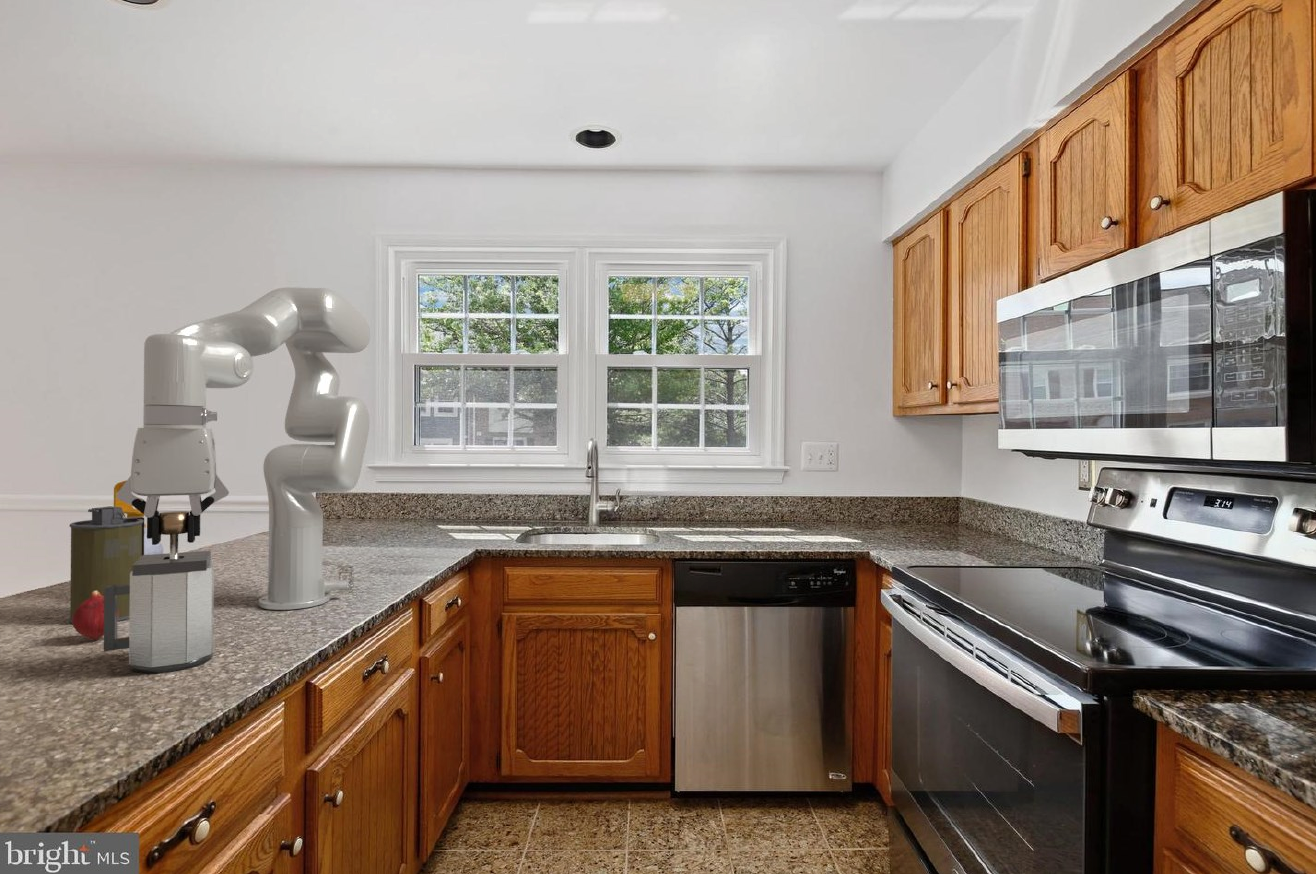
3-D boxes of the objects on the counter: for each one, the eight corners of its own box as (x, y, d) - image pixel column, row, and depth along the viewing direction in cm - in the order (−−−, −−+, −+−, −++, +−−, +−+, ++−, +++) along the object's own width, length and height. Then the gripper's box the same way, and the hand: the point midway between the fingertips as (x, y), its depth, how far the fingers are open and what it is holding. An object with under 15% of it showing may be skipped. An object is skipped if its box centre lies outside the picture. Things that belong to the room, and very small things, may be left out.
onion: (127, 637, 111) (127, 588, 111) (87, 647, 106) (88, 596, 105) (103, 633, 113) (103, 585, 113) (63, 643, 107) (63, 593, 107)
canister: (92, 627, 116) (93, 512, 115) (54, 621, 119) (55, 508, 119) (158, 612, 126) (159, 505, 126) (121, 606, 129) (122, 503, 129)
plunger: (201, 634, 104) (203, 509, 104) (198, 646, 99) (199, 514, 98) (148, 640, 101) (150, 511, 101) (141, 653, 95) (143, 516, 95)
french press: (214, 647, 106) (215, 549, 106) (210, 666, 98) (211, 560, 98) (111, 660, 100) (112, 556, 100) (97, 681, 92) (98, 568, 91)
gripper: (241, 420, 107) (240, 535, 107) (109, 417, 99) (107, 542, 99) (240, 419, 100) (239, 542, 101) (97, 417, 92) (96, 550, 92)
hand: (174, 541), depth 100 cm, fingers closed on plunger, 3 cm apart
